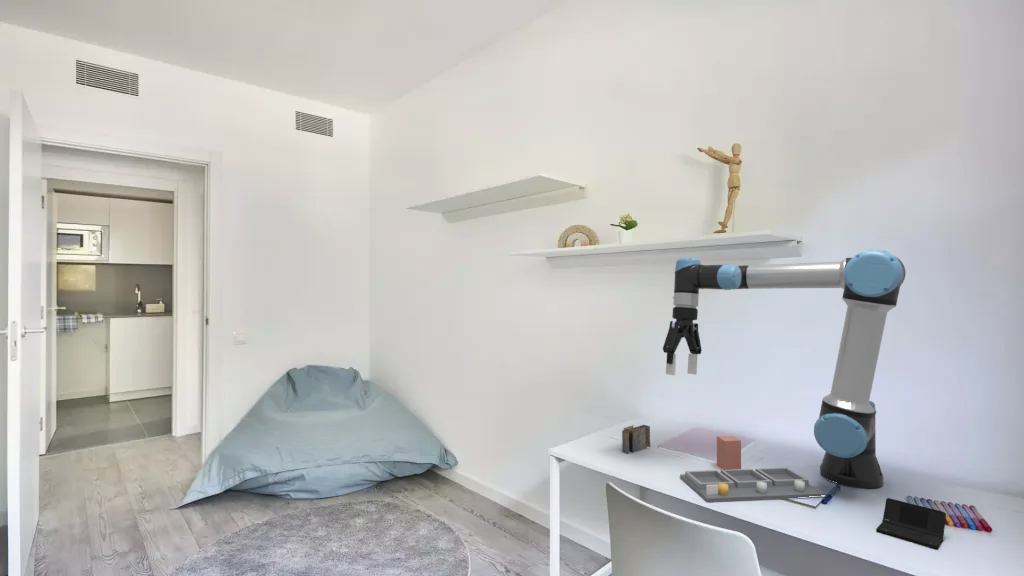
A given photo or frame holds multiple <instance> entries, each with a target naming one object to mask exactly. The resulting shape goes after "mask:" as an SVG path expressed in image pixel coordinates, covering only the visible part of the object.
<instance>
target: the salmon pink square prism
mask: <svg viewBox="0 0 1024 576" xmlns="http://www.w3.org/2000/svg"><path fill="white" fill-rule="evenodd" d="M716 466H717V467H718V468H719V469H720V470H733V469H742V440H741V439H739V438H737V437H735V436H733V435H717V436H716Z"/></svg>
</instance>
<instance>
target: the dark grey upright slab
mask: <svg viewBox="0 0 1024 576" xmlns="http://www.w3.org/2000/svg"><path fill="white" fill-rule="evenodd" d="M621 433H622V434H621V437H622V438H621V439H622V440H621V441H622V442H621V443H622V445H621V446H622V449H621V450H622V453H624V454H627V455H630V451H631V453H636V452H639V451H643V450H646V449H648V448H647V447H650V448H651V426H650V425H646V424H640V425H638V426H635V425H634V424H632V425H629V426H626V427H623V430H622V431H621Z"/></svg>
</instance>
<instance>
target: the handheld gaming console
mask: <svg viewBox="0 0 1024 576" xmlns="http://www.w3.org/2000/svg"><path fill="white" fill-rule="evenodd" d="M946 517H947V514H946V512H945V511H942V510H938V509H934V508H930V507H926V506H921V505H918V504H914V503H910V502H906V501H902V500H897V499H893V498H890V497H887V498H886V499H885V505H884V510H883V518H882V522H881V523H880V524H879V525H878V526H877V527H876V529H875V530H876V533H879V534H882V535H885V536H888V537H891V538H895V539H898V540H901V541H906V542H908V543H911V542H912V544H914V545H918V546H921V547H925V548H931V549H933V550H936V551H938V550H939V548H940V546H941V545H942V544H943V542H944V537H945V536H944V535H945V529H946V527H945V526H946V519H947V518H946Z"/></svg>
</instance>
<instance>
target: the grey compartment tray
mask: <svg viewBox="0 0 1024 576" xmlns="http://www.w3.org/2000/svg"><path fill="white" fill-rule="evenodd" d="M679 477H680V480H682V481H683V482H684V483H685V484H686V485H688V486H689V488H690V489H692V490H693V491H694V492H695V493H696V494H698V496H699V497H701V498H702V499H703V500H704V501H706V503H724V502H725V503H726V502H747V501H748V502H750V501H752V502H753V501H768V500H769V501H772V500H773V501H774V500H788V499H787V498H798V497H809V496H821V495H826V496H827V493H826V492H824V491H822V490H821V489H819V488H817V487H816V486H814V485H812V484H811V483H810V479H808V478H806V477H804V476H803V475H802V474H800V473H797V472H796V471H794V470H792V469H791V468H789V467H765V468H755V469H753V468H741V469H733V470H723V469H720V470H718V469H710V470H709V469H708V470H689V471H688V470H686V471H684V473H682V474H680V475H679Z"/></svg>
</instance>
